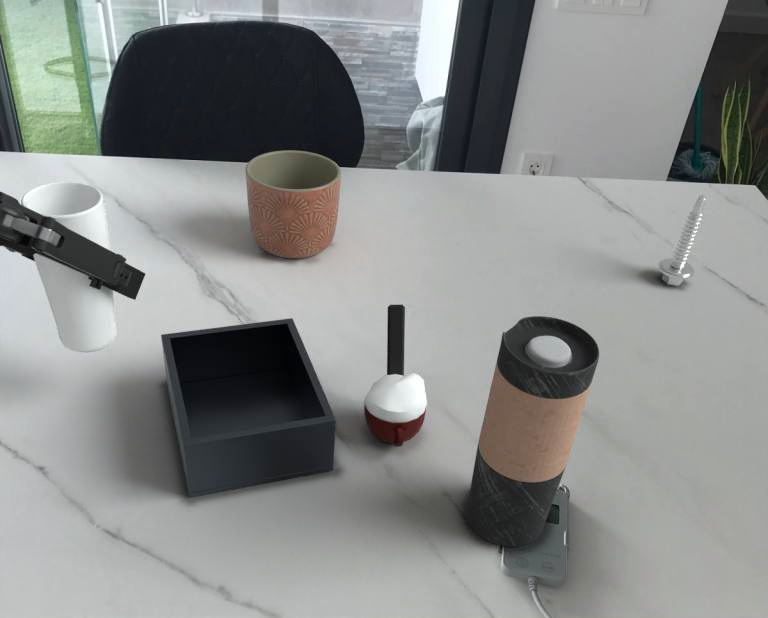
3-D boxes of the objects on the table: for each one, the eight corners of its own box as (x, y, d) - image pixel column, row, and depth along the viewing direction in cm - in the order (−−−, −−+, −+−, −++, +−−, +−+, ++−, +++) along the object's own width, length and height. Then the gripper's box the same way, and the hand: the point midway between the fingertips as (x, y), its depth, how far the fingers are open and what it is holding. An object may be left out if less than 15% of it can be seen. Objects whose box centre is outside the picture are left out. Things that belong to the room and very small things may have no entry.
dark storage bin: (167, 384, 82) (160, 334, 78) (292, 366, 86) (292, 317, 82) (189, 497, 70) (183, 445, 66) (333, 470, 75) (336, 419, 70)
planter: (346, 229, 112) (350, 157, 105) (326, 273, 102) (329, 196, 95) (263, 216, 113) (261, 144, 106) (235, 258, 103) (232, 181, 96)
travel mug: (555, 549, 69) (614, 375, 57) (471, 550, 68) (512, 373, 56) (535, 486, 75) (585, 315, 62) (457, 486, 74) (492, 313, 62)
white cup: (56, 366, 72) (23, 221, 63) (48, 325, 77) (16, 184, 67) (131, 352, 75) (110, 211, 65) (118, 313, 79) (97, 176, 70)
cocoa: (410, 466, 76) (424, 370, 68) (350, 450, 77) (356, 353, 69) (434, 407, 83) (448, 314, 75) (378, 393, 84) (387, 300, 76)
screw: (667, 292, 105) (647, 273, 109) (696, 288, 107) (676, 270, 110) (699, 204, 97) (676, 187, 101) (730, 201, 99) (707, 185, 102)
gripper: (-213, 193, 55) (11, 281, 77) (3, 270, 50) (176, 341, 72) (-172, 96, 56) (39, 212, 78) (46, 163, 50) (205, 267, 72)
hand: (105, 274), depth 75 cm, fingers closed on white cup, 7 cm apart
